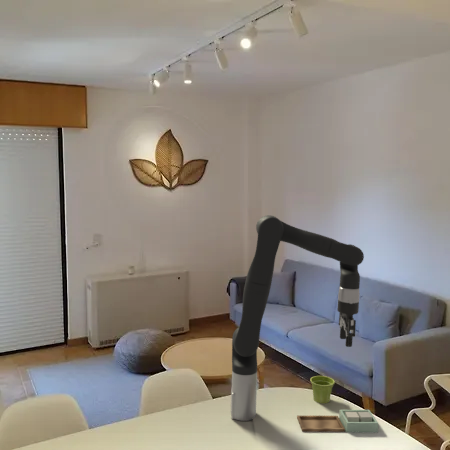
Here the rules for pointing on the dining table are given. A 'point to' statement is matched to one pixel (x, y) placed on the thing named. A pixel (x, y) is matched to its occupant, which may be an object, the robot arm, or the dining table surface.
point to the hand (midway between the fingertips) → (345, 342)
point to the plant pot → (322, 388)
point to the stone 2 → (364, 417)
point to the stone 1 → (352, 416)
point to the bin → (358, 423)
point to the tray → (320, 424)
